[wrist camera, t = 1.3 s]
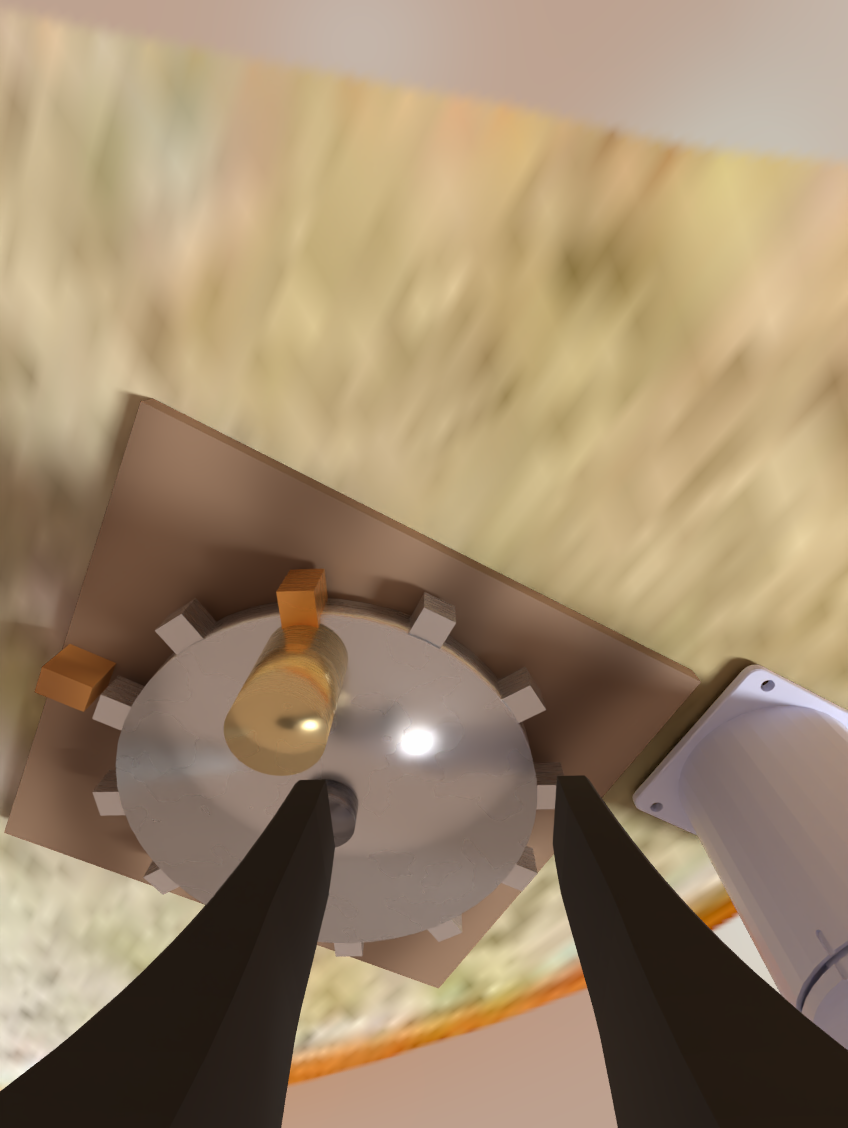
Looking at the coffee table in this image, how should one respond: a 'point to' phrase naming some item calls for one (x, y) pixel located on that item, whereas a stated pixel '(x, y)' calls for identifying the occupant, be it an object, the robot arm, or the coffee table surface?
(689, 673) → the walnut board
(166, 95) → the coffee table surface
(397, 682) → the sprocket wheel
